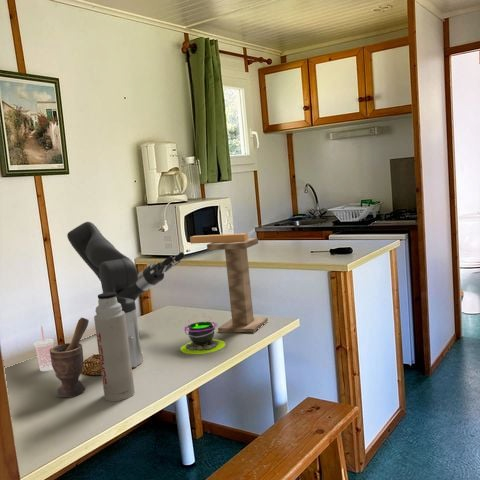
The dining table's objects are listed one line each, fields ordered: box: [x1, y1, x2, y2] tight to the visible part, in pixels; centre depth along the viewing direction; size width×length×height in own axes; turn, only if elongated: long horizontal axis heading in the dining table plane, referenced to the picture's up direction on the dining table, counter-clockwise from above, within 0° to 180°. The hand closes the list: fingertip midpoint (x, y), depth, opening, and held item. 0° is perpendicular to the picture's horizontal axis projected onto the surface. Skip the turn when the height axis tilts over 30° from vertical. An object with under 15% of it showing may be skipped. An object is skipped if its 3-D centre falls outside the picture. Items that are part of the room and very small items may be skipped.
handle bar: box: [189, 232, 249, 245], centre depth 197 cm, size 22×3×2 cm, turn 67°
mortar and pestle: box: [50, 317, 89, 398], centre depth 150 cm, size 12×9×20 cm
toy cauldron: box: [180, 312, 226, 355], centre depth 179 cm, size 15×15×11 cm
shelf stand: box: [206, 237, 269, 333], centre depth 197 cm, size 16×14×32 cm
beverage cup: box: [33, 326, 55, 372], centre depth 172 cm, size 6×6×14 cm
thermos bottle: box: [93, 292, 136, 402], centre depth 143 cm, size 8×8×28 cm
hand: (178, 255), depth 205 cm, fingers open, 8 cm apart
